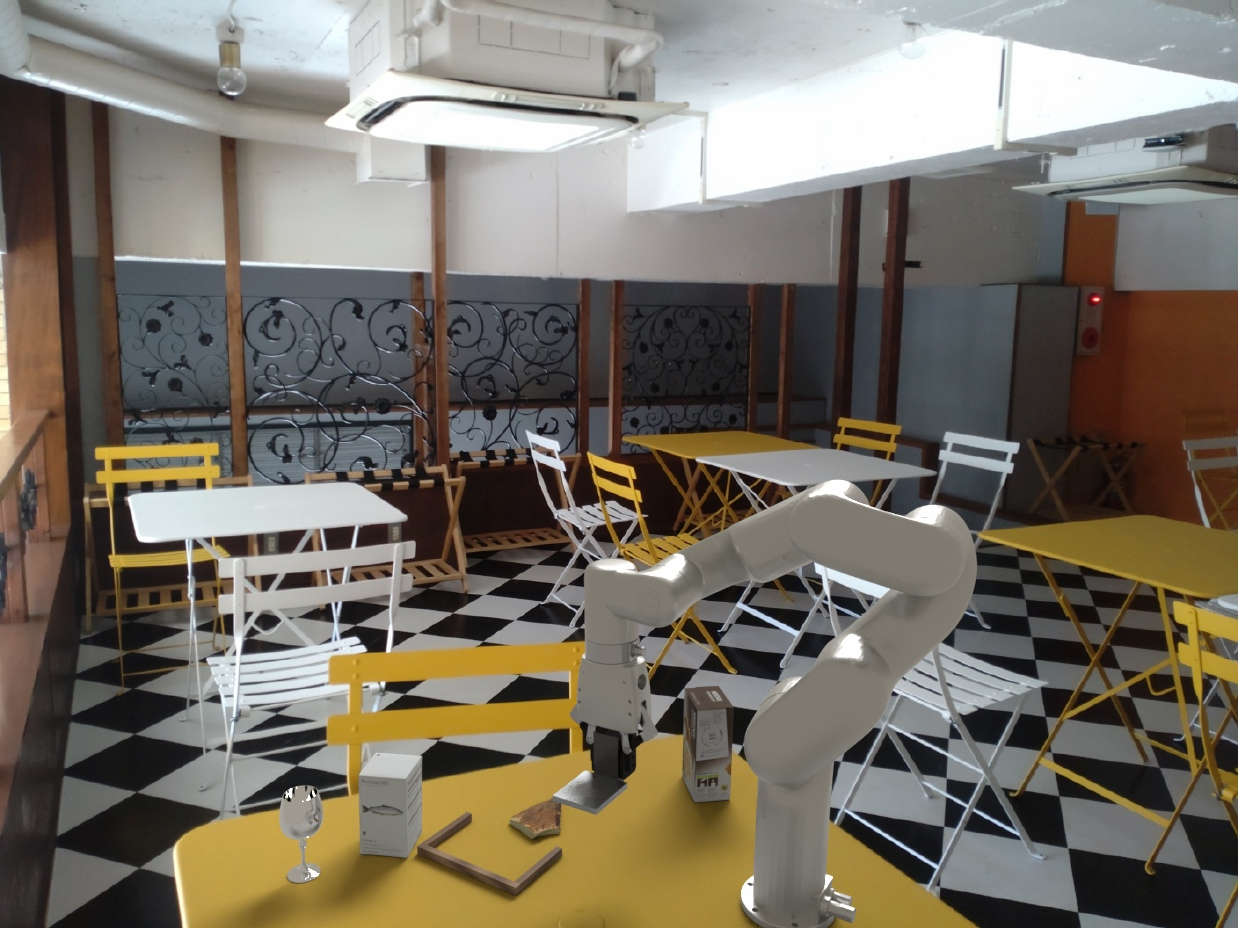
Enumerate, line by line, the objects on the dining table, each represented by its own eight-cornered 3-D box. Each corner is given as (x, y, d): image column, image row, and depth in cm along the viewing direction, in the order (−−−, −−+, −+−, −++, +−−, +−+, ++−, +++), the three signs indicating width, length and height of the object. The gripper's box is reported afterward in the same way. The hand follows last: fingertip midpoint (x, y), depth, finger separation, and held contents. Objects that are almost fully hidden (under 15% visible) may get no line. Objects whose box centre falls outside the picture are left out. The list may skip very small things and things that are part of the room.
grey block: (600, 763, 135) (599, 718, 134) (641, 775, 131) (641, 729, 130) (552, 800, 125) (551, 752, 123) (596, 814, 121) (595, 765, 120)
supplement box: (358, 855, 133) (355, 774, 131) (377, 827, 141) (375, 750, 138) (407, 859, 133) (405, 778, 130) (424, 831, 140) (422, 753, 138)
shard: (561, 801, 150) (561, 790, 150) (592, 820, 144) (593, 809, 144) (507, 825, 143) (507, 815, 142) (538, 846, 137) (538, 835, 137)
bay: (562, 855, 134) (562, 848, 134) (515, 895, 125) (515, 887, 125) (467, 818, 143) (466, 811, 143) (417, 853, 134) (417, 845, 134)
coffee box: (731, 800, 150) (735, 707, 147) (693, 803, 149) (697, 710, 146) (716, 772, 159) (719, 684, 156) (680, 775, 158) (682, 686, 155)
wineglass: (280, 888, 125) (276, 807, 123) (283, 864, 131) (280, 785, 129) (324, 882, 127) (321, 801, 125) (326, 858, 132) (323, 781, 130)
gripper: (677, 650, 127) (677, 774, 130) (577, 630, 136) (579, 747, 139) (651, 668, 121) (651, 798, 124) (547, 646, 129) (549, 767, 132)
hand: (613, 769), depth 131 cm, fingers closed on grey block, 4 cm apart
